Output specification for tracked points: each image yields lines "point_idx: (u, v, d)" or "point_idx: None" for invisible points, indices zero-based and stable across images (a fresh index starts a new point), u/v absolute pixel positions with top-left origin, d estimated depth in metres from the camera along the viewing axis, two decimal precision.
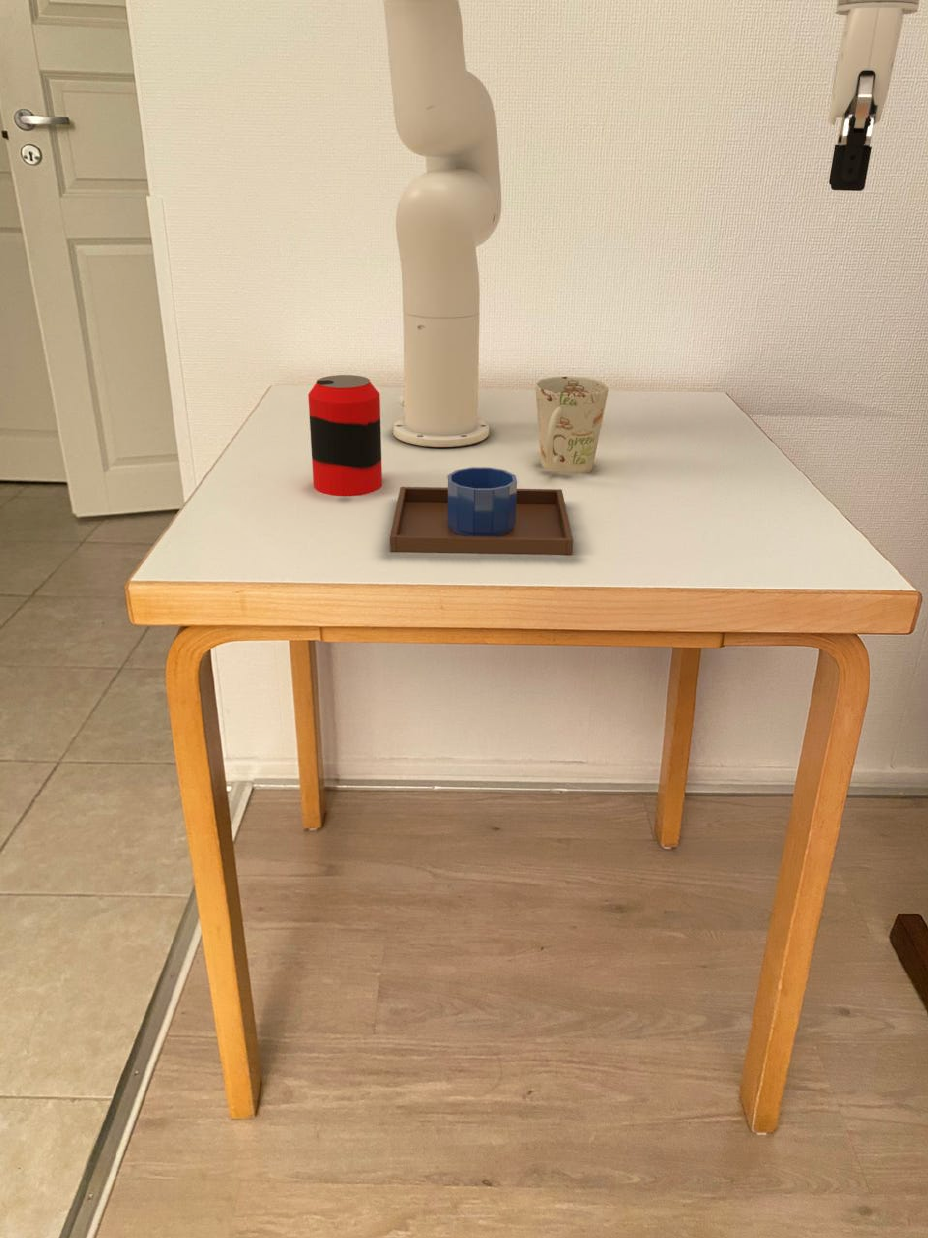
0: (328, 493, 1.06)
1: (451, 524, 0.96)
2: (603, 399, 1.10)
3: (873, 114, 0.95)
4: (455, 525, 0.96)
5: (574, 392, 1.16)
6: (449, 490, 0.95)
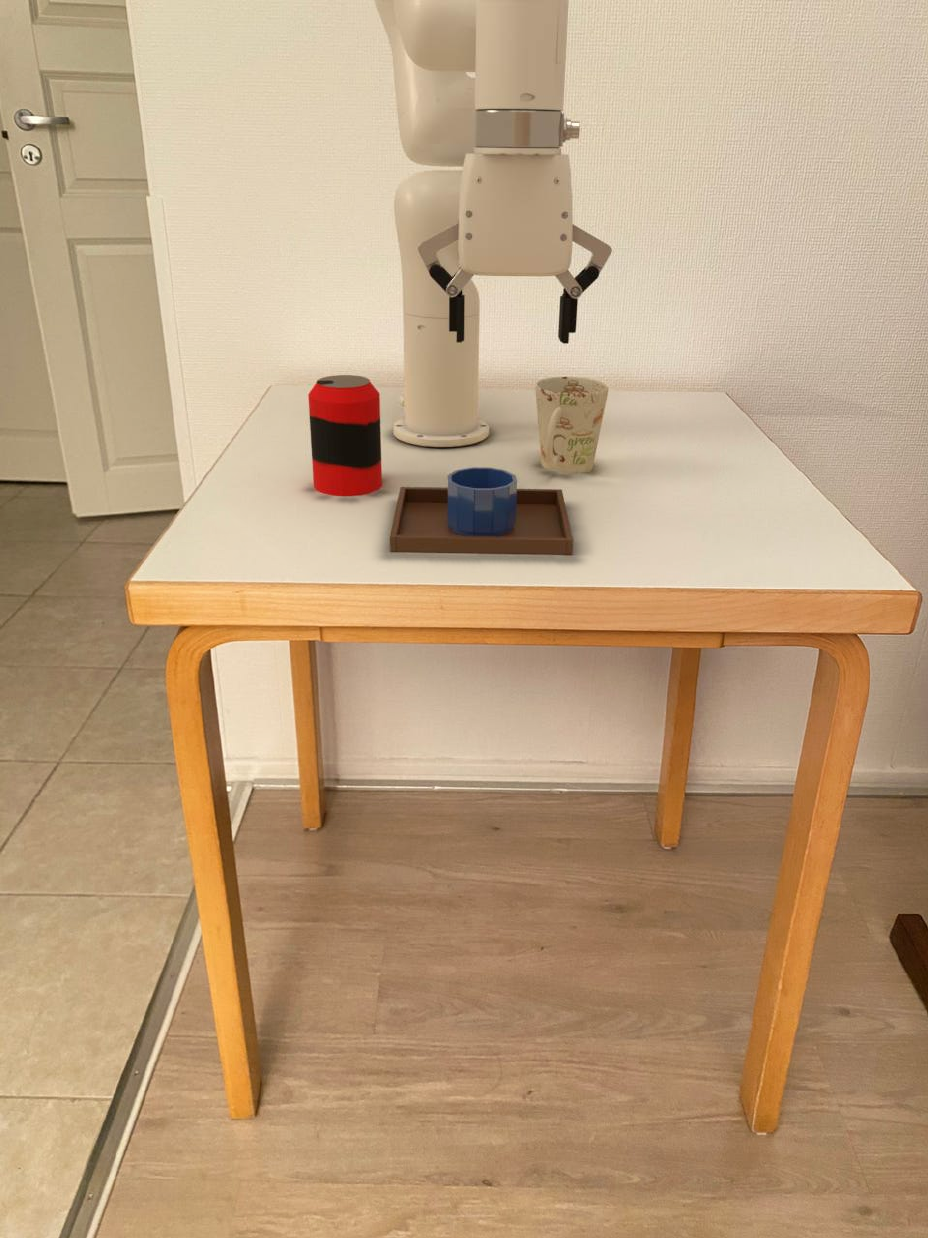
0: (328, 493, 1.06)
1: (451, 524, 0.96)
2: (603, 399, 1.10)
3: None
4: (455, 525, 0.96)
5: (574, 392, 1.16)
6: (449, 490, 0.95)
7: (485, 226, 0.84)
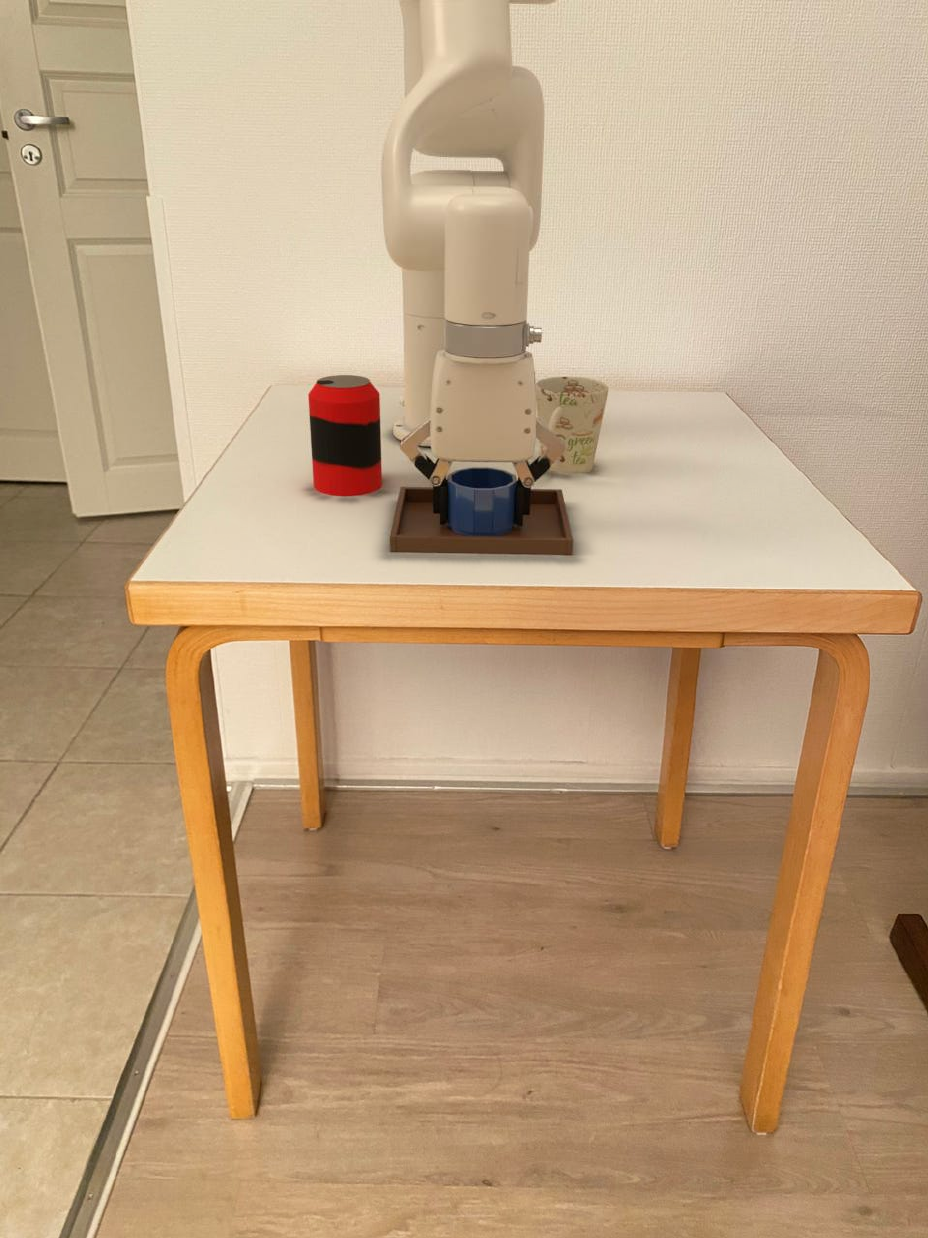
0: (328, 493, 1.06)
1: (451, 524, 0.96)
2: (603, 399, 1.10)
3: None
4: (455, 525, 0.96)
5: (574, 392, 1.16)
6: (449, 490, 0.95)
7: (454, 421, 0.91)
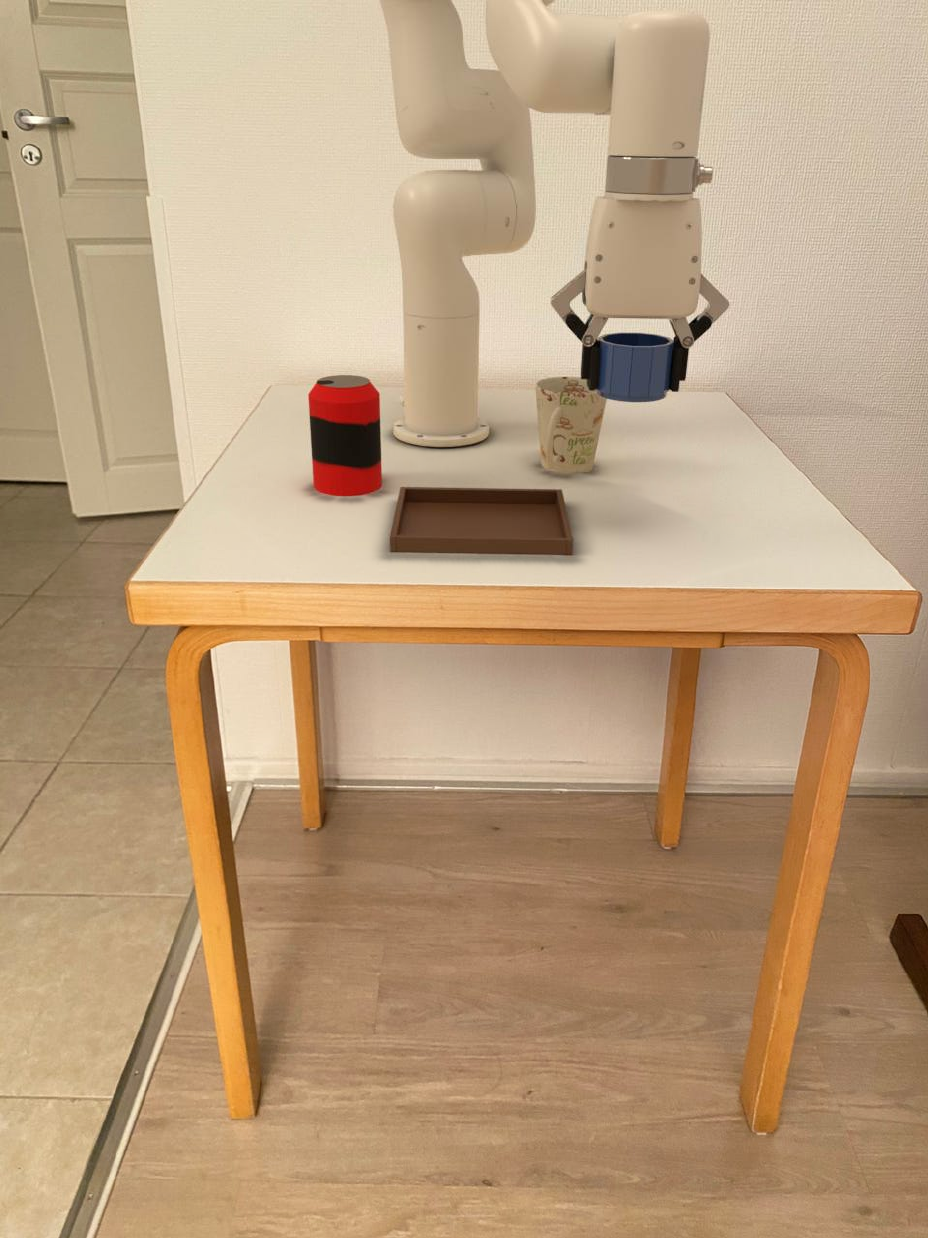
0: (328, 493, 1.06)
1: (602, 389, 0.90)
2: (603, 399, 1.10)
3: None
4: (607, 389, 0.89)
5: (574, 392, 1.16)
6: (602, 351, 0.89)
7: (615, 270, 0.85)
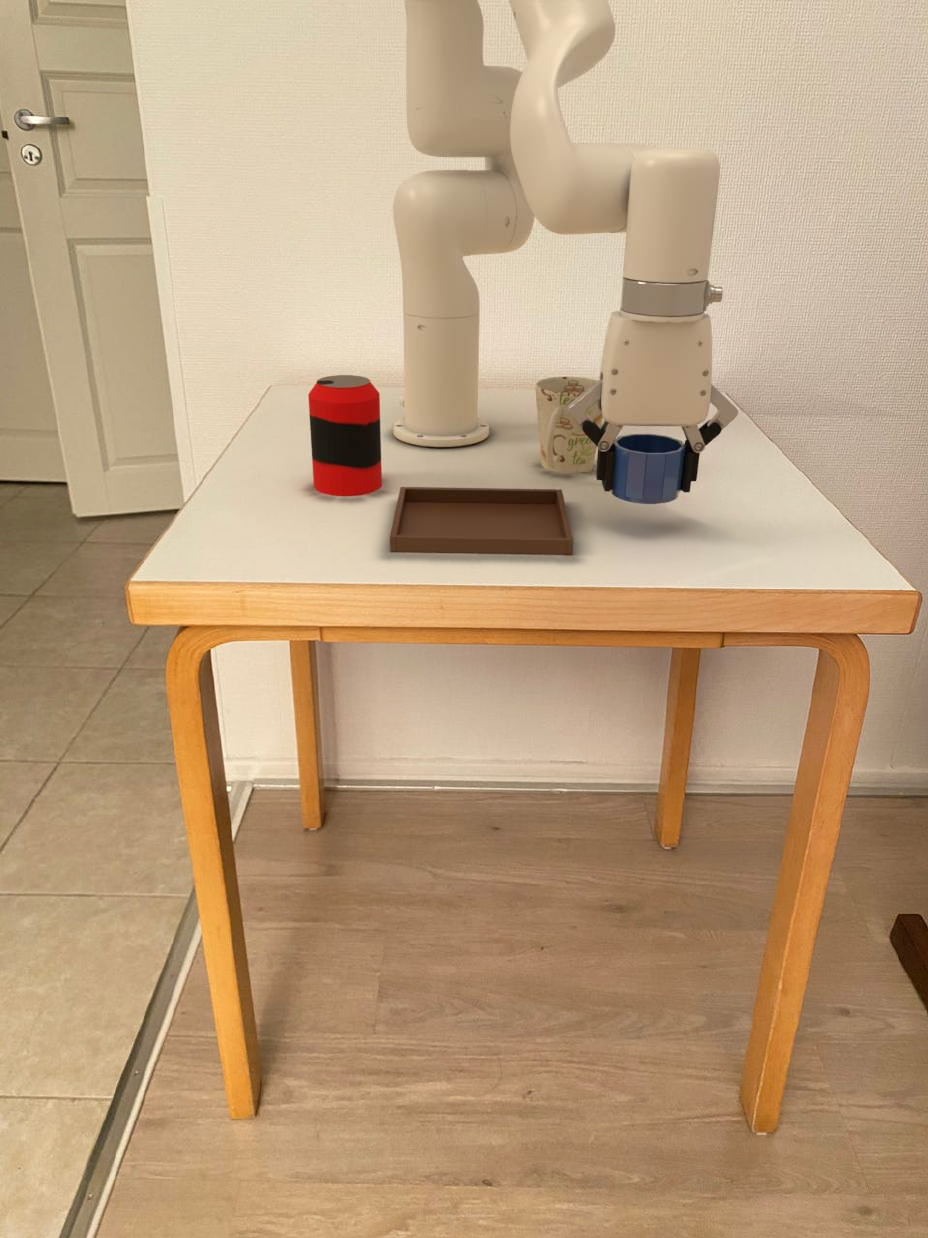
0: (328, 493, 1.06)
1: (617, 491, 0.94)
2: None
3: None
4: (622, 491, 0.94)
5: (574, 392, 1.16)
6: (617, 455, 0.93)
7: (629, 383, 0.89)
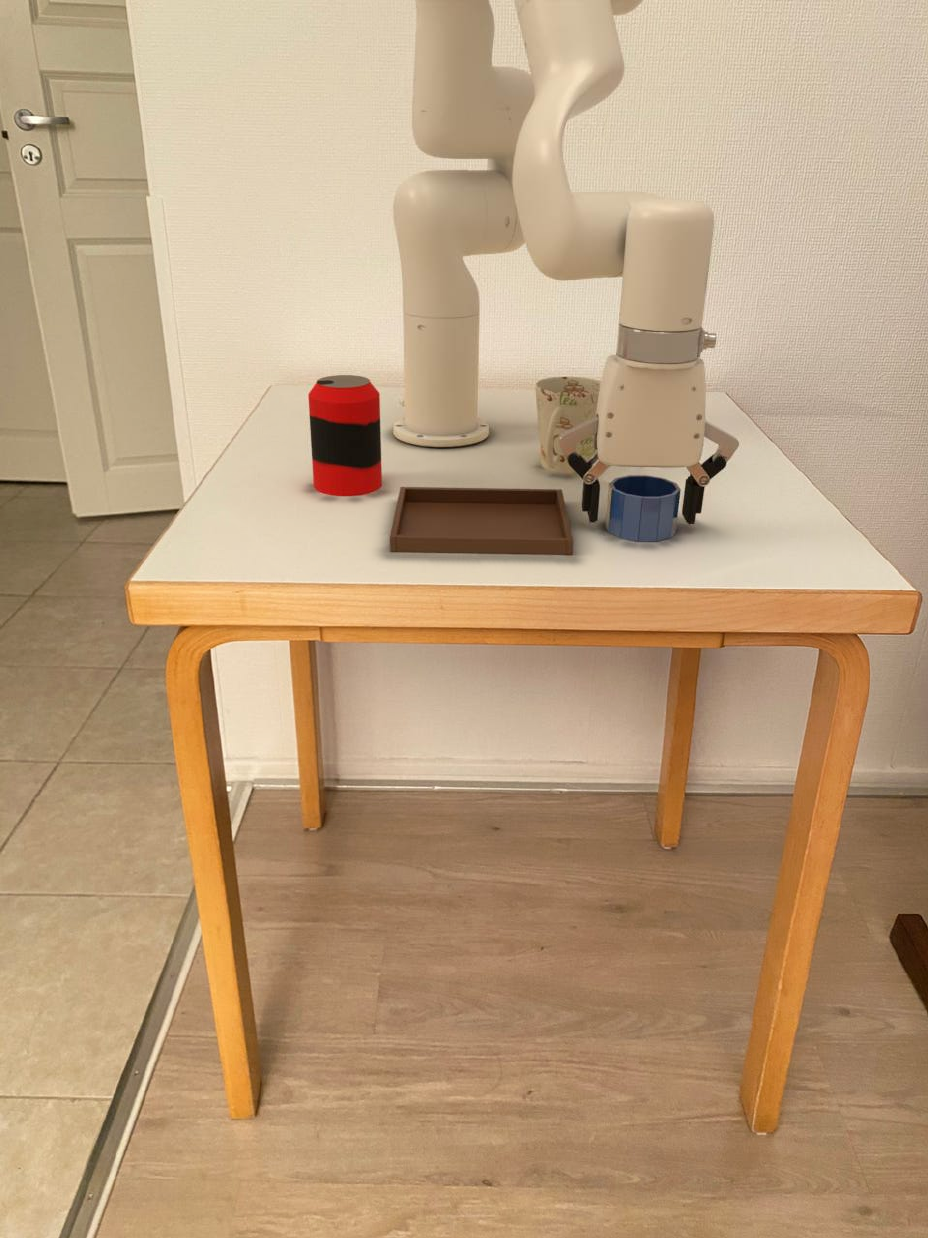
0: (328, 493, 1.06)
1: (613, 532, 0.96)
2: None
3: None
4: (618, 533, 0.96)
5: (574, 392, 1.16)
6: (613, 498, 0.95)
7: (625, 426, 0.91)
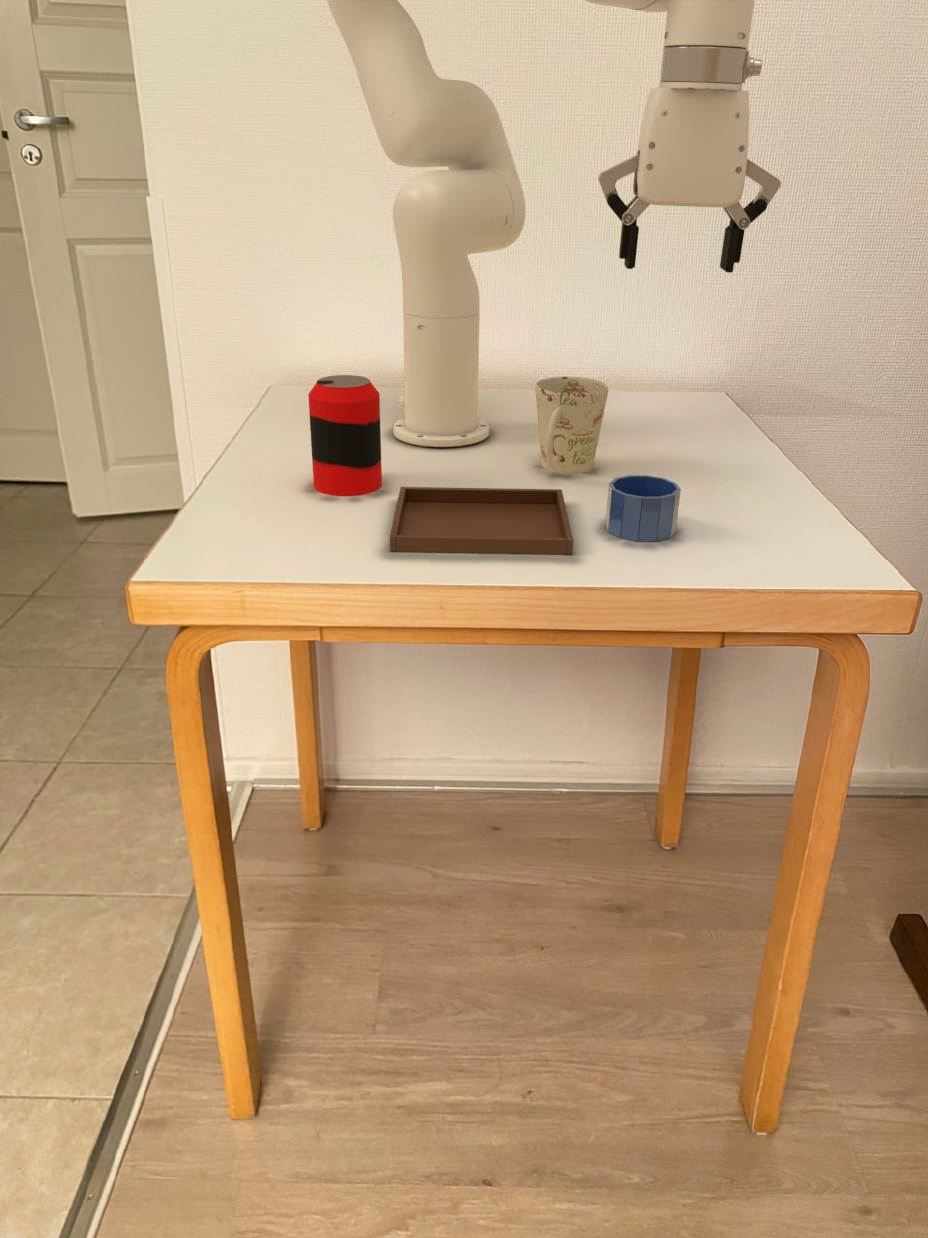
0: (328, 493, 1.06)
1: (613, 532, 0.96)
2: (603, 399, 1.10)
3: None
4: (618, 533, 0.96)
5: (574, 392, 1.16)
6: (613, 498, 0.95)
7: (666, 157, 0.91)
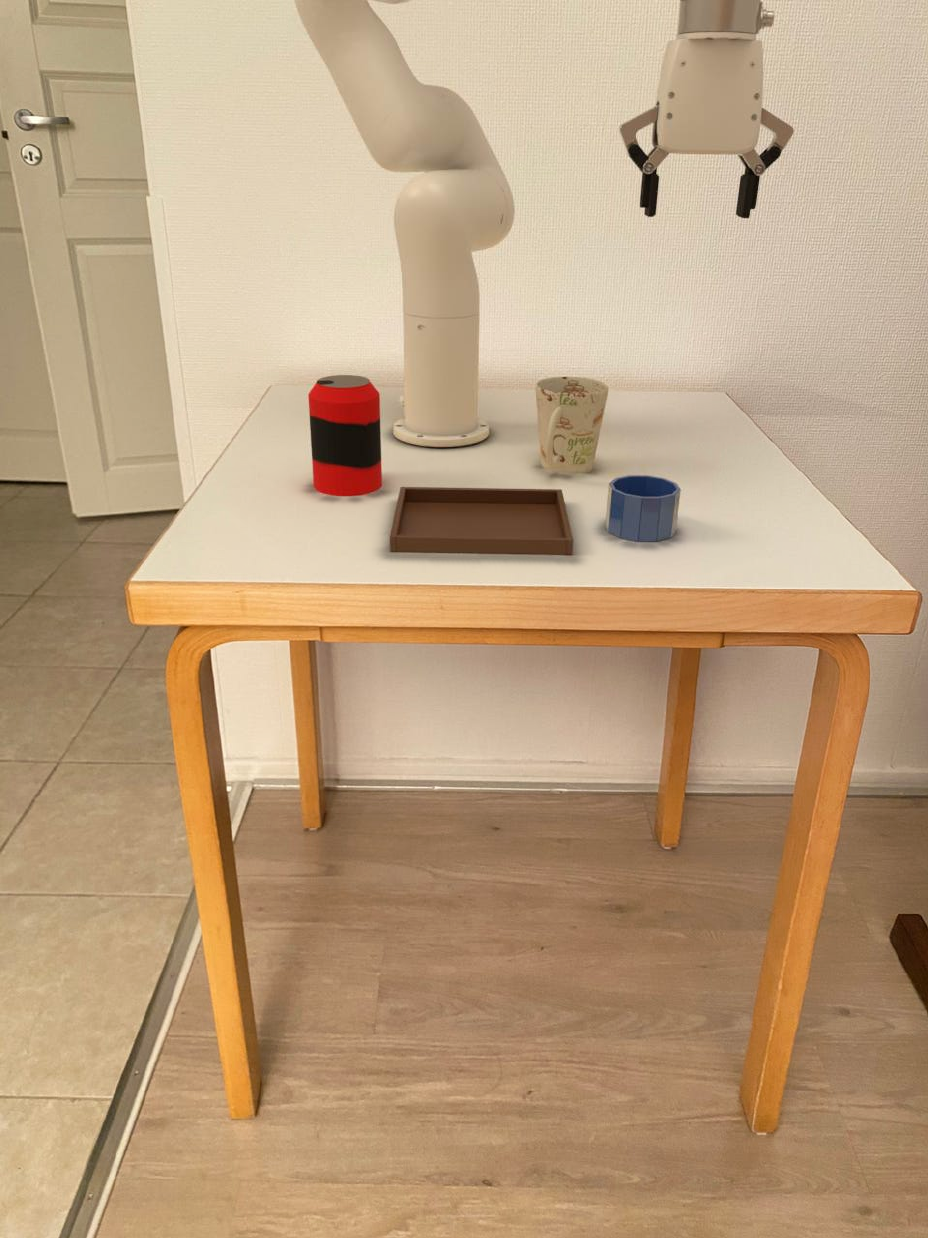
0: (328, 493, 1.06)
1: (613, 532, 0.96)
2: (603, 399, 1.10)
3: None
4: (618, 533, 0.96)
5: (574, 392, 1.16)
6: (613, 498, 0.95)
7: (685, 106, 0.95)
